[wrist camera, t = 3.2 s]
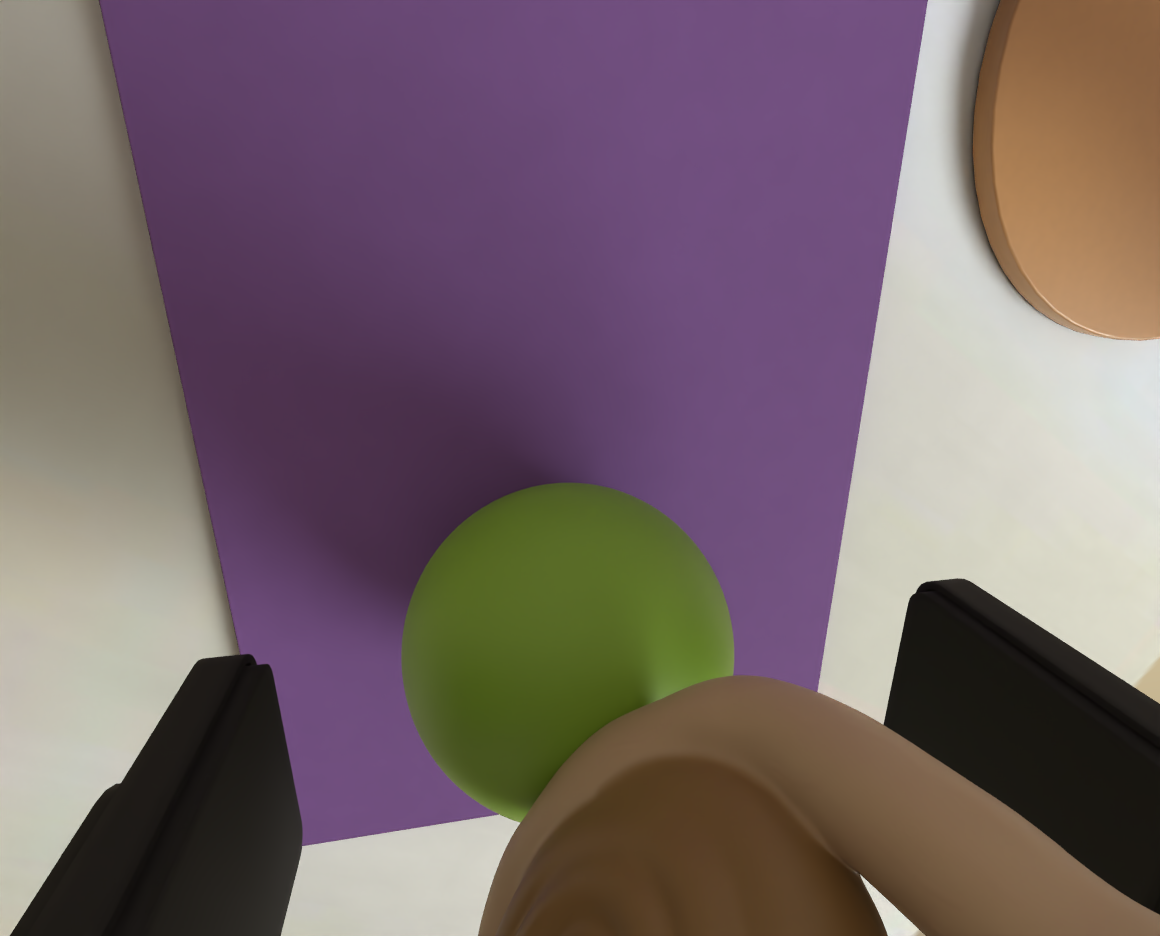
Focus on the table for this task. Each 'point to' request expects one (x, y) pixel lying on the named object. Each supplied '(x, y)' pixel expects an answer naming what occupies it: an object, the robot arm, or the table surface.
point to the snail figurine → (692, 755)
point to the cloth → (509, 308)
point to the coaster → (1074, 160)
